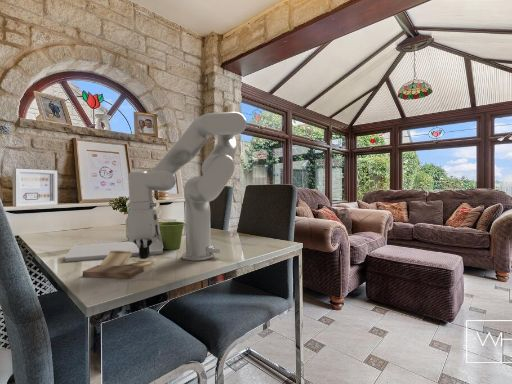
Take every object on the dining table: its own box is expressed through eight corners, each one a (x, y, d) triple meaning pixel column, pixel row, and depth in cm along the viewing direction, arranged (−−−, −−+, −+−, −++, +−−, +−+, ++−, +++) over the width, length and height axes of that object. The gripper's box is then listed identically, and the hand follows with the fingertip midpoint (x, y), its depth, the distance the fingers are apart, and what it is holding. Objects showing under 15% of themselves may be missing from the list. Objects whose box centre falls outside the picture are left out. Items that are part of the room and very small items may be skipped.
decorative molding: (162, 260, 113) (162, 249, 122) (162, 250, 111) (162, 239, 120) (66, 269, 101) (73, 255, 110) (64, 258, 100) (72, 245, 109)
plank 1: (132, 254, 97) (130, 250, 96) (121, 269, 91) (119, 265, 90) (112, 254, 98) (110, 250, 97) (101, 268, 92) (99, 264, 91)
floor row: (143, 270, 90) (143, 266, 90) (130, 278, 82) (130, 273, 82) (99, 269, 92) (99, 264, 91) (82, 276, 84) (82, 271, 84)
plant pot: (152, 248, 122) (152, 223, 122) (176, 244, 131) (175, 221, 131) (166, 252, 114) (166, 226, 114) (190, 247, 123) (190, 223, 123)
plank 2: (154, 266, 97) (154, 261, 97) (143, 270, 90) (144, 264, 90) (134, 265, 98) (134, 260, 98) (122, 269, 91) (123, 264, 91)
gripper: (166, 204, 98) (169, 255, 99) (128, 206, 100) (131, 255, 101) (156, 207, 91) (159, 261, 91) (115, 208, 92) (118, 261, 93)
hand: (144, 257), depth 96 cm, fingers closed
